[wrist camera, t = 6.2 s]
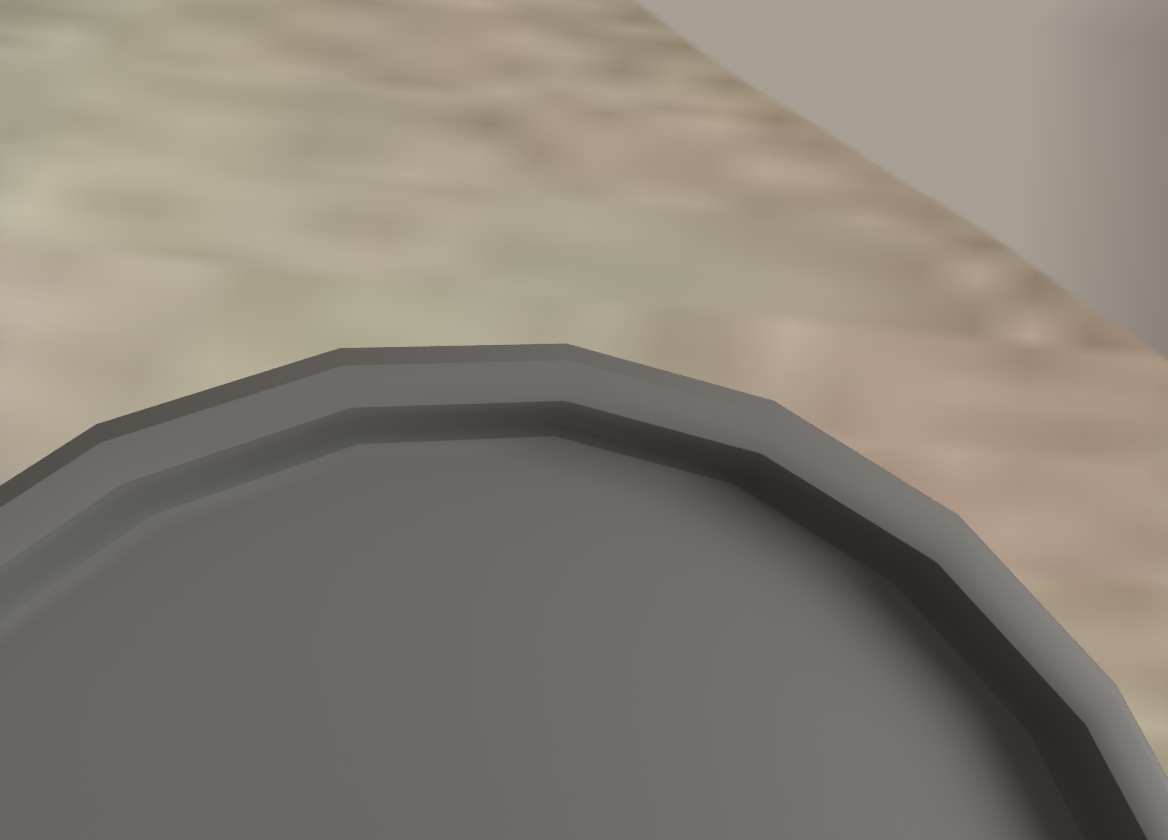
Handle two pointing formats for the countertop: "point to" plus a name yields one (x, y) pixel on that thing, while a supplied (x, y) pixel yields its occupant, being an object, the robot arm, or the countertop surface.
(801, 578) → the beer can
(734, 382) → the countertop surface
